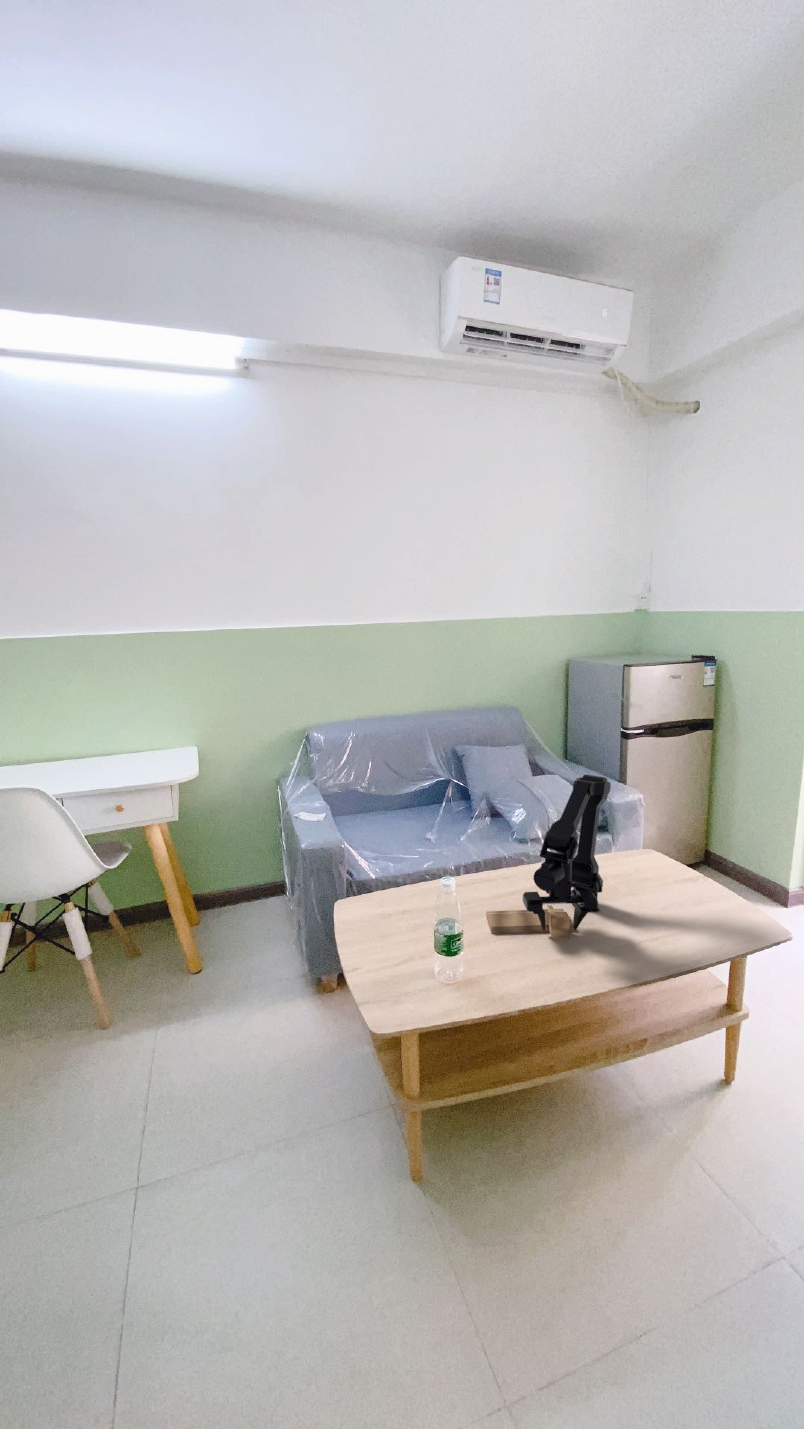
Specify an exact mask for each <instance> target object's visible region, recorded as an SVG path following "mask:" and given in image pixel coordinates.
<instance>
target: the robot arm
mask: <svg viewBox="0 0 804 1429" xmlns="http://www.w3.org/2000/svg"><path fill="white" fill-rule="evenodd" d="M611 786H612V784H611V782H610V781H608V778H607V777H605V776H598V775H593V774H591V775H590V774H584V775H583V776H582V777H576V778H575V780H574V781H573V784H572V791H571V793H570V796H569V798H568V800H567V803H566V804H565V807H564V809H563V812H562V814H561V817H560V818H559V819H558V820H557V821H556V820H555V821H554V822H553V823H552V824H551V826H550V828H548V830H547V832H546V833H545V836H544V839H543V843H542V847H541V849H540V852H539V857H540V858H543V859H544V861H543V862H542V863H541V864H540V867H539V868H538V869H536V871H535V872H534V874H533V882H534V883H535V885H536V887H538V889H539V890H542V891H544V892H545V893H546V894H548V895H547V896H541V895H540V894H539V892H538V891H524V893H523V894H522V902H523V904H524V907H525V908H526V909H525V910H527V911H529V912H533V913H534V914H538V917H539V920H540V923H541V926H542V929H543V931H545V911H544V909H545V908H544V906H543V905H563V904H564V905H566V904H571V905H572V906H573V908H574V912H573V913H574V914H573V923H572V929H573V930H575V931H576V930H578V928H579V926H580V924H581V923H582V921H583V920H584V919H585V917H586V916H587V914H589V913H593V912H597V913H598V912H600V908H599V900H598V896H599V895H598V894H599V893H603V887H604V880H603V878H602V877H601V875H600V873H599V869H600V868H599V867H600V866H599V865H598V862H597V860H596V858H595V853H596V845H597V844H596V843H597V837H598V836H597V835H598V828H599V827H598V826H599V820H600V811H601V807H602V805H603V804H604V803H605V802H606V801H607V800H608V795H609V794H610V792H611ZM579 824H580V829H579V837H578V832H577V830H578V827H579ZM549 850H551V851H549ZM552 851H553V852H552ZM554 851H555V852H554ZM576 853H577V854H576Z"/></svg>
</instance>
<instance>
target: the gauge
mask: <svg viewBox="0 0 804 1429" xmlns="http://www.w3.org/2000/svg"><path fill="white" fill-rule="evenodd" d="M547 909H548V911H549V913H550V914H549V932H548V933H549V935H550V937H551V939H552V940H553V939H555V940H557V939H558V940H559V939H569V938H570V931H569V923H570V922H571V918H570V915H569V914H568V912H567V911H564V912H555V911H554V909H555V908H554V907H553V904H547Z"/></svg>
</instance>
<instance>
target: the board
mask: <svg viewBox="0 0 804 1429" xmlns="http://www.w3.org/2000/svg"><path fill="white" fill-rule="evenodd" d="M543 909H544V911H545V931H543V929H542V926H541V923H540V920H539V917H538V914H534V913H533V912H529V911H527V909H518V910H516V909H514V910H490V911H487V910H486V916H485V917H486V920H487V924H488V927H489V931H490V933H491V934H493V935H494V934H513V933H514V934H516V933H517V934H518V933H541V932H542V933H545V932H547V933H549V914H550V913H549V911H548V908H543ZM553 909H554V911H555V912H565V910H564V908H553ZM572 929H573V923H572V922H571V921H570V923H569V932H572V931H573V930H572Z"/></svg>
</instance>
